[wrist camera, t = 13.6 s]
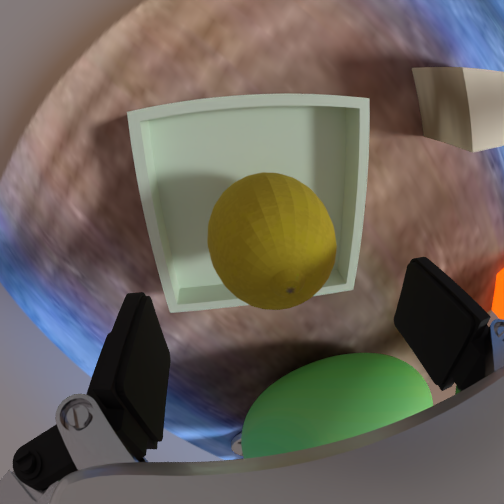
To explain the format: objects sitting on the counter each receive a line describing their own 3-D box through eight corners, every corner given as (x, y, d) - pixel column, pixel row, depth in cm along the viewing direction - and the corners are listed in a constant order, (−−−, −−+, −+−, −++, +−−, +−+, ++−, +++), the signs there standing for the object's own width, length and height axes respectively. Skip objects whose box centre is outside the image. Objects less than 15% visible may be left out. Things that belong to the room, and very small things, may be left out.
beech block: (465, 128, 15) (511, 143, 11) (423, 136, 16) (472, 152, 11) (455, 68, 13) (504, 72, 9) (410, 67, 13) (462, 67, 9)
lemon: (191, 220, 16) (175, 313, 9) (245, 139, 14) (275, 172, 7) (267, 262, 18) (298, 361, 11) (322, 193, 16) (394, 264, 9)
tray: (339, 269, 20) (353, 289, 18) (174, 289, 19) (170, 312, 17) (349, 98, 14) (369, 98, 12) (140, 110, 13) (126, 112, 11)
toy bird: (413, 303, 23) (495, 422, 11) (376, 395, 32) (414, 482, 19) (222, 341, 22) (239, 520, 10) (245, 425, 31) (260, 528, 18)
